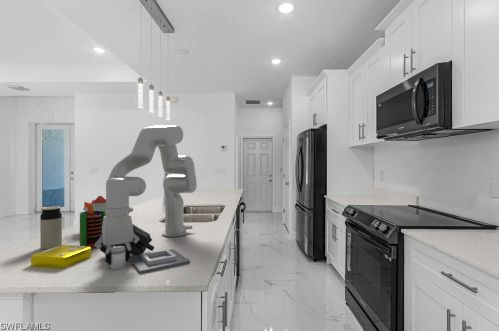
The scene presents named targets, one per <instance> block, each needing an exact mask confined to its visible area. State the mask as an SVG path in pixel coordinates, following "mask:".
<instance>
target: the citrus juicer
mask: <svg viewBox="0 0 499 331" xmlns="http://www.w3.org/2000/svg"><path fill="white" fill-rule="evenodd" d="M84 203H88V201H84ZM91 203H92V205H93V211H95V210H100V211H105V216H106V198H104V197H103V195H98V197H96V198H95V199H92V200H91ZM82 210H83V211H84V212H85V211H88V208H87V207H83V209H82Z"/></svg>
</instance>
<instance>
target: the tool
mask: <svg viewBox="0 0 499 331" xmlns="http://www.w3.org/2000/svg"><path fill="white" fill-rule="evenodd" d="M132 225H133V233H134V234H135V235H136V236H138V237H139V239H140V240H139V241H138V242H137V243H136V244H135V245H134V246H133V247H132V248H131V250H130V256H137V255H141V254H143V253H146V250H149V251H150V252H154V250H155V246H154V245H152V244H150V243H151V242H152V241H153V238H152V237H151V234H150V233H149V232H147V231H145V230H143V229H141V228H140V227H138V226H137V225H135V224H133V223H132ZM133 240H134V238H133ZM131 242H132V241H131ZM131 242H129V243H131ZM102 246H104V247H106V245H104V244H102ZM116 246H125V243H124V244H117V245H111V248H112V247H116ZM125 247H126V246H125ZM99 250H100V249H99ZM100 252H102V253H103V254H104V255H105V253H104V252H103V251H102V250H100Z"/></svg>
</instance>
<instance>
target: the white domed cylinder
mask: <svg viewBox="0 0 499 331" xmlns="http://www.w3.org/2000/svg"><path fill="white" fill-rule="evenodd" d="M110 254H111V264H110V265H109V269H110V270H112V271H117V270H118V271H120V270H123V269H125V268H126V266H127V262H126V247H125V246H116V247H115V246H114V247H112V248H110Z"/></svg>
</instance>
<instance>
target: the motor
mask: <svg viewBox="0 0 499 331" xmlns="http://www.w3.org/2000/svg"><path fill="white" fill-rule="evenodd" d="M87 202H88V201H87ZM83 206H84V207H87V208H88V211H85V210H84V211H81V212H80V213H79V246H89V247H91V250H92V249H93V250H94V249H98V248H97V247H95V243H96V242H97V241H98V239H99V238H100V237H101V236H102V223H103V218H104V217H105V211H100V210H95V211H93V205H92V201H91V202H90V201H89V202H88V203H84V204H83ZM84 207H83V208H84ZM100 245H102V246H103V242H101V244H100Z"/></svg>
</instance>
